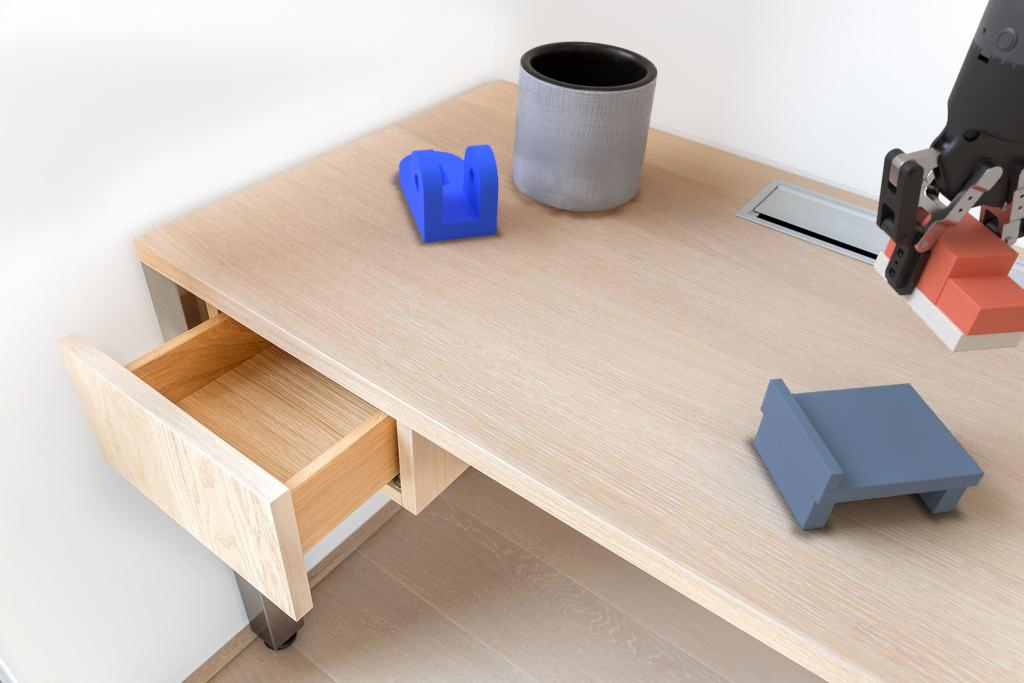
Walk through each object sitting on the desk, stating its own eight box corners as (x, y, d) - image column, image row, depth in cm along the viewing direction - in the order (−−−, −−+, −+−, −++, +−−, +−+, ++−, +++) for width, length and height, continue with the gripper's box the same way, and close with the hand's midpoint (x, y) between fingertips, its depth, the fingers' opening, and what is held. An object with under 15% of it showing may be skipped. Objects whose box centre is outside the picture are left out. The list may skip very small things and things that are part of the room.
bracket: (496, 234, 90) (499, 161, 85) (424, 242, 88) (423, 168, 83) (457, 163, 104) (457, 96, 98) (393, 169, 101) (390, 100, 96)
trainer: (872, 267, 59) (897, 204, 56) (929, 264, 60) (958, 202, 57) (954, 354, 52) (989, 287, 48) (1018, 349, 53) (1057, 283, 49)
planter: (504, 157, 106) (510, 38, 96) (622, 157, 108) (640, 40, 98) (520, 219, 93) (528, 89, 83) (652, 217, 95) (676, 90, 85)
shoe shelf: (888, 425, 69) (917, 366, 65) (958, 516, 62) (996, 456, 57) (749, 439, 67) (769, 379, 63) (803, 535, 59) (831, 474, 55)
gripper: (1103, 24, 50) (986, 253, 61) (898, 24, 48) (815, 262, 58) (1202, 68, 44) (1055, 312, 55) (976, 70, 42) (867, 325, 53)
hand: (932, 285), depth 57 cm, fingers closed on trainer, 4 cm apart
